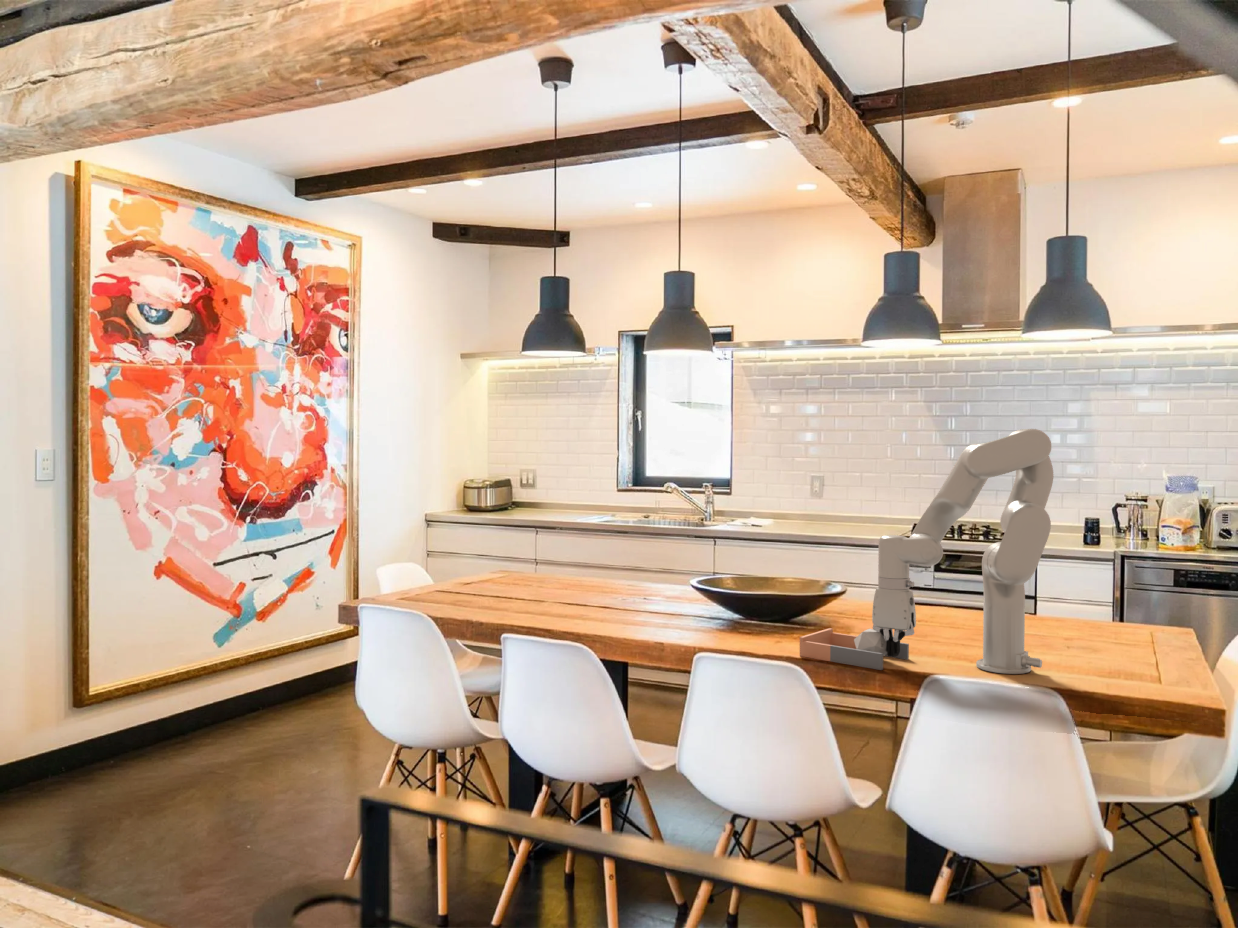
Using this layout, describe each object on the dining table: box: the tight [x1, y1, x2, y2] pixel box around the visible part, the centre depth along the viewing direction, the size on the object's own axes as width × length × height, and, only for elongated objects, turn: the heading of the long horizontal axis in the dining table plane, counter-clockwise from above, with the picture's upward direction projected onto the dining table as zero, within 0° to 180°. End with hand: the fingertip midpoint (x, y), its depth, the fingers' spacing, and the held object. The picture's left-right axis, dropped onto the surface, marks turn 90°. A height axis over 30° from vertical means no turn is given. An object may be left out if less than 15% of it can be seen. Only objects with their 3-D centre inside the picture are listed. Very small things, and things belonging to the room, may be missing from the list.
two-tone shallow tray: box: [799, 627, 910, 671], centre depth 239 cm, size 23×16×5 cm
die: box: [854, 628, 887, 657], centre depth 236 cm, size 8×9×10 cm
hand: (893, 655), depth 231 cm, fingers closed
